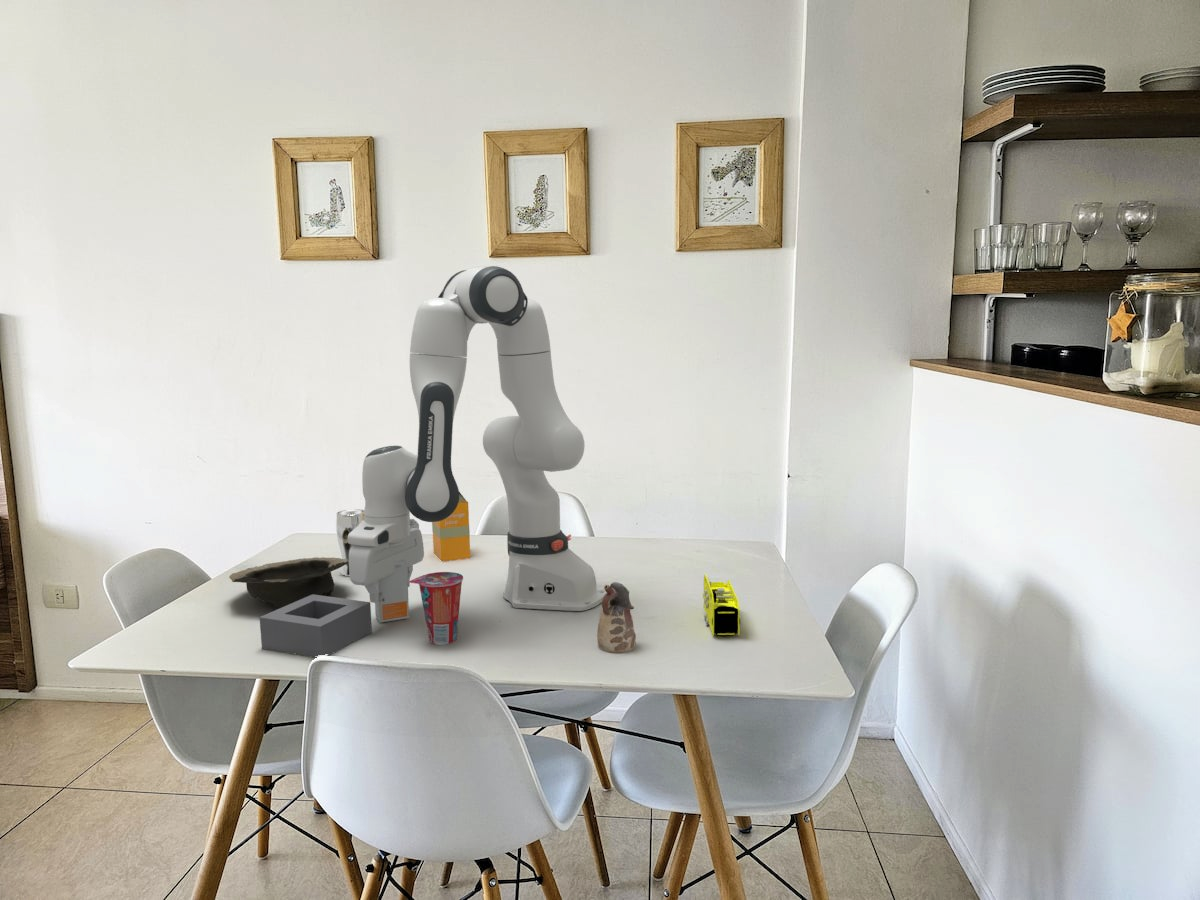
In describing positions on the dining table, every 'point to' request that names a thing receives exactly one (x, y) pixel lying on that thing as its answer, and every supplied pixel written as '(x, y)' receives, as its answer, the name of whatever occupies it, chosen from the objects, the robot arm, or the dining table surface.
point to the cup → (441, 605)
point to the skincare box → (393, 595)
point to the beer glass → (347, 532)
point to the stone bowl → (290, 579)
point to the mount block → (315, 625)
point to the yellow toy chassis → (721, 608)
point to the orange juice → (453, 534)
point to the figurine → (616, 621)
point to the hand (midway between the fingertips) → (390, 594)
